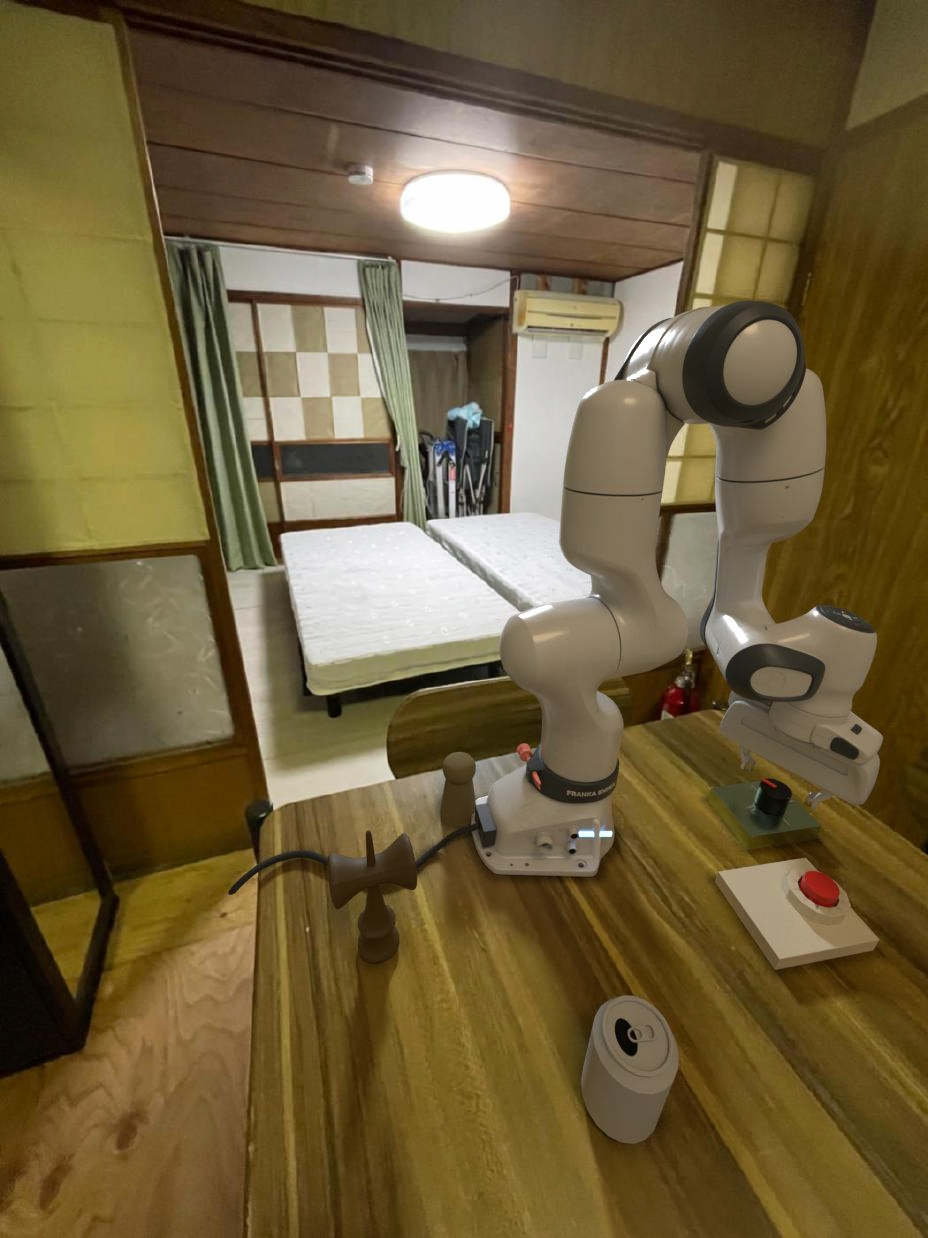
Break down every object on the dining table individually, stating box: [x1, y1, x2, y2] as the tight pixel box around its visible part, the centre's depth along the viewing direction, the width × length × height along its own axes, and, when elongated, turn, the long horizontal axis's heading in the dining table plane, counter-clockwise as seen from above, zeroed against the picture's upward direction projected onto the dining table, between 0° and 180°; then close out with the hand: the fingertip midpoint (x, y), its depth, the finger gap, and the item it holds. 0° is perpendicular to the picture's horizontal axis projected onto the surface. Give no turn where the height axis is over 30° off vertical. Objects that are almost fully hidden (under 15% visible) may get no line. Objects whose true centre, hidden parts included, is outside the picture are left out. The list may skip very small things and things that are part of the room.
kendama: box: [326, 829, 418, 964], centre depth 60 cm, size 6×10×20 cm, turn 108°
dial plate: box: [707, 780, 822, 851], centre depth 82 cm, size 12×10×3 cm
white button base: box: [714, 857, 880, 971], centre depth 67 cm, size 14×12×4 cm
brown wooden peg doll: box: [439, 751, 477, 827], centre depth 81 cm, size 6×6×11 cm
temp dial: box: [755, 777, 793, 815], centre depth 81 cm, size 4×4×4 cm
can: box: [580, 994, 680, 1145], centre depth 48 cm, size 8×8×12 cm
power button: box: [800, 870, 840, 907], centre depth 67 cm, size 4×4×2 cm
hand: (777, 786), depth 79 cm, fingers open, 8 cm apart
